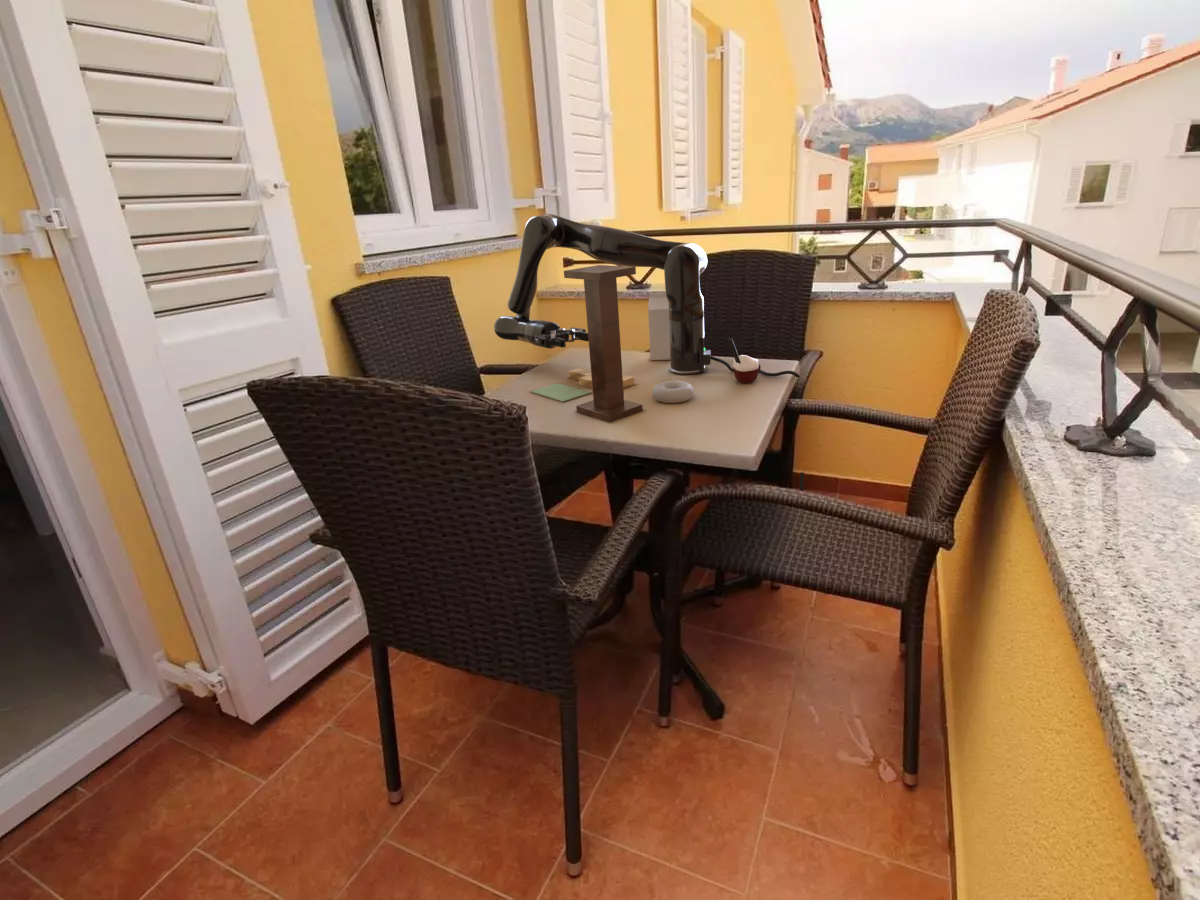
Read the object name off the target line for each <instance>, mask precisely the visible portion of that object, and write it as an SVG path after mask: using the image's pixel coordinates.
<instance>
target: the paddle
mask: <svg viewBox="0 0 1200 900" xmlns="http://www.w3.org/2000/svg"><path fill="white" fill-rule="evenodd" d="M568 375H569V376H568V377H569V379H573V380H577V381H578V384H579V386H582V387H586V388H588V389H593V388H592V376H591V370H587V369H583V368H580V367H578V368H575V369H571V370H568ZM622 377H623V389H626V388H628V387H632V386H634V385H635V377H634V376H630V375H626V374H622Z"/></svg>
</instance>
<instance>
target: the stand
mask: <svg viewBox="0 0 1200 900" xmlns="http://www.w3.org/2000/svg"><path fill="white" fill-rule="evenodd" d="M633 275H637V267H630V266H619V265H607V264H606V265H604V264H598V265H591V266H585V267H579V268H573V269H566V270H563V277H564V279H574V280H583V288H584V300H585V301H584V302H585V310H586V311H585V312H586V325H587V333H588V339H589V341H588V347H589V348H588V349H589V362H590V363H589V364H590V371H591V376H592V388H591V389H592V397H593V399H592V400H589V401H587V402H583V403H581V404H577V405H575V407H576V408H575V409H576V413H580V414H583V415H586V416H589V417H591V418H595V419H598V420H601V421H605V422H608V423H612V422H616V421H618V420H621V419H624V418H627V417H629V416H632V415H635V414H638V413H640V412H643V411H644V409H643V404H641V403H638V402H634V401H631V400H626V399H625V395H624V388H623V377H622V375H623V362H622V347H621V331H620V330H621V329H620V313H619V298H618V297H619V296H618V283H617V280H618V279H617V278H621V277H622V278H623V277H628V276H633Z"/></svg>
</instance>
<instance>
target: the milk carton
mask: <svg viewBox="0 0 1200 900" xmlns="http://www.w3.org/2000/svg"><path fill="white" fill-rule="evenodd" d="M647 315H648V316H647V317H648V338H649V340H648V341H649V360H650V361H670V333H669V303H668V300H667V297H666V292H654V293H648V306H647Z"/></svg>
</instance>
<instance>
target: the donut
mask: <svg viewBox="0 0 1200 900" xmlns="http://www.w3.org/2000/svg"><path fill="white" fill-rule="evenodd" d="M694 392H695V389H694V386H692V385H691V383H689V382H686V381H682V380H668V381H661V382H659V383H657V384H656V385H654V386H653V388H652V391H651V394H652V397H653V399H654V400H655V401H656V402H657V401H658V402H660V403H664V404H678V403H683V402H686V401H688V400H690V399H691V398H692V397H693V396H694Z"/></svg>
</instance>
